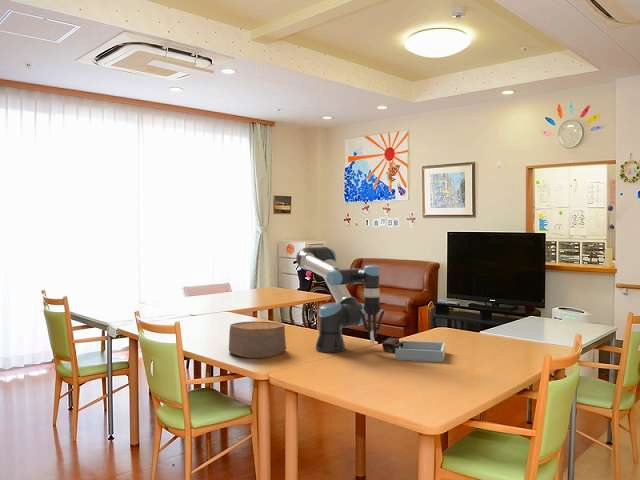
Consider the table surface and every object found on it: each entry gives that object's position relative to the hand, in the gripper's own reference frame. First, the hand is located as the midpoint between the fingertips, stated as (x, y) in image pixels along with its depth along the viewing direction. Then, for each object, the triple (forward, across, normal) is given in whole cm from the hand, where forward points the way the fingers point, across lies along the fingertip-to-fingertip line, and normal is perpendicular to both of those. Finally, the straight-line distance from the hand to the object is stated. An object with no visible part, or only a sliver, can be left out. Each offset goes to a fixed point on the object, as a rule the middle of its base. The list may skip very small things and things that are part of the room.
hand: (372, 343), depth 270 cm
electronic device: (+1, +9, +2) cm, 9 cm away
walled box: (+5, +24, 0) cm, 24 cm away
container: (+5, -56, -14) cm, 58 cm away
